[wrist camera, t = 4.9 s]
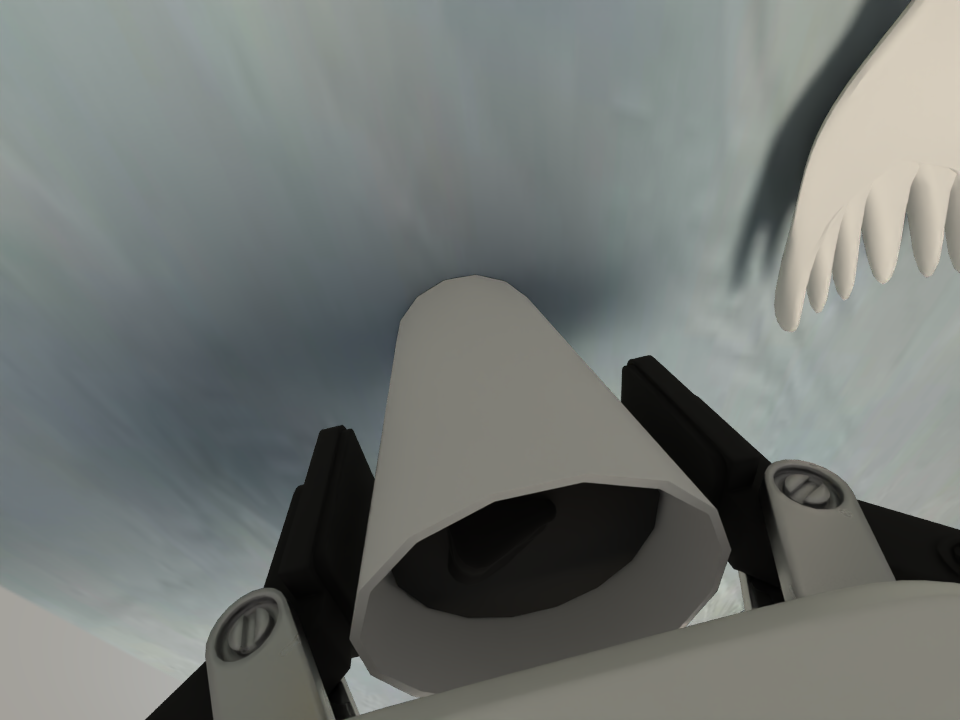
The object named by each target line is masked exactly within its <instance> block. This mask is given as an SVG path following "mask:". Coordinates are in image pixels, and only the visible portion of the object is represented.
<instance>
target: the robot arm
mask: <svg viewBox="0 0 960 720" xmlns="http://www.w3.org/2000/svg"><path fill="white" fill-rule="evenodd" d="M621 403H622V404H623V405H624V406H625V407H626V409H627V410H628V411H629V412H630V413H631V414H632V415H633V416H634V417H635V419H636V420H637V421H638V422H639V423H640V424H641V425H642V426H643V428H644V429H645V430H646V431H647V432H648V433H649V434H650V435H651V436H652V438H653V439H654V440H655V441H656V442H657V443H658V444H659V445H660V447H661V448H662V449H663V450H664V451H665V452H666V453H667V454H668V455H669V457H670V458H671V459H672V460H673V461H674V462H675V463H676V464H677V466H678V467H679V468H680V469H681V470H682V471H683V472H684V473H685V474H686V476H687V477H688V478H689V479H690V480H691V481H692V482H693V483H694V485H695V486H696V487H697V488H698V489H699V490H700V491H701V492H702V493H703V495H704V496H705V497H706V498H707V499H708V500H709V501H710V502H711V504H712V505H713V506H714V507H715V508H716V509H717V511H718V514H719V516H720V519H721V522H722V525H723V528H724V530H725V533H726V536H727V539H728V542H729V544H730V547H731V552H730V555H729V558H728V562H729V563H730V565H731V566H732V567H733V569H736V570H738V573H739V578H740V584H741V590H742V596H743V602H744V608H745V612H741V613H737V614H734V615H730V616H726V617H722V618H718V619H714V620H711V621H707V622H703V623H699V624H695V625H691V626H688V627H684V628H680V629H676V630H672V631H668V632H665V633H661V634H657V635H653V636H649V637H645V638H642V639H638V640H634V641H630V642H627V643H623V644H619V645H615V646H612V647H608V648H604V649H600V650H596V651H593V652H589V653H585V654H581V655H578V656H574V657H570V658H566V659H563V660H559V661H555V662H551V663H548V664H544V665H540V666H536V667H533V668H529V669H525V670H522V671H518V672H514V673H510V674H507V675H503V676H499V677H496V678H492V679H488V680H484V681H481V682H477V683H473V684H470V685H466V686H462V687H459V688H455V689H451V690H448V691H444V692H440V693H437V694H433V695H429V696H426V697H422V698H418V699H415V700H411V701H407V702H404V703H400V704H396V705H393V706H389V707H385V708H382V709H378V710H375V711H372V712H368V713H365V714H361V715H360V714H359V711H358V709H357V707H356V704H355V702H354V699H353V697H352V694H351V692H350V689H349V687H348V684H347V682H346V679H345V677H344V675H345V674H346V673H347V672H348V670H349V669H350V666H351V658H354V657H358V656H359V654H358V653H357V651H356V649H355V648H354V646H353V644H352V643H351V641H350V639H349V638H350V631H351V625H352V619H353V612H354V606H355V600H356V594H357V587H358V581H359V575H360V568H361V562H362V556H363V550H364V543H365V537H366V531H367V524H368V518H369V512H370V505H371V499H372V493H373V487H374V480H375V479H374V477H373V474H372V472H371V470H370V467H369V465H368V463H367V461H366V458H365V456H364V454H363V451H362V449H361V447H360V444H359V442H358V440H357V438H356V435H355V433H354V431H353V430H352V429H347V430H346V428H345V427H344V426H343V425H340V426H336V427H331V428H327V429H322V430H321V431H320V433H319V435H318V439H317V442H316V445H315V449H314V452H313V456H312V459H311V462H310V466H309V469H308V472H307V476H306V479H305V482H304V485H300V486H298V487H297V488H296V490H295V492H294V494H293V497H292V500H291V503H290V507H289V510H288V513H287V516H286V519H285V522H284V525H283V529H282V532H281V535H280V538H279V541H278V544H277V547H276V551H275V554H274V557H273V560H272V563H271V566H270V569H269V573H268V576H267V579H266V582H265V585H264V588H261V589H258V590H254V591H252V592H250V593H248V594H246V595H244V596H242V597H241V598H239V599H238V600H237V601H236V602H234V603H233V604H232V605H231V606H229V607H228V609H227V610H226V611H225V612H224V613H223V614H222V615H221V616H220V618H219V619H218V620H217V622H216V624H215V625H214V627H213V629H212V630H211V632H210V635H209V638H208V640H207V643H206V653H205V658H206V661H205V662H204V663H203V664H202V665H201V666H200V667H199V668H198V669H197V670H196V671H195V672H194V673H193V674H192V675H191V676H190V677H189V678H188V679H187V680H186V681H185V682H184V683H183V684H182V685H181V686H180V687H179V688H177V690H175V691H174V693H172V694H171V695H170V696H169V697H168V698H167V699H166V700H165V701H164V702H163V703H162V704H161V705H160V706H159V707H158V708H157V709H156V710H155V711H154V712H153V713H152V714H151V715H150V716H149V717H148V718H146V719H145V720H960V530H958V529H955V528H951V527H948V526H945V525H941V524H938V523H935V522H931V521H928V520H924V519H921V518H918V517H914V516H911V515H907V514H904V513H901V512H897V511H894V510H891V509H887V508H884V507H880V506H877V505H874V504H870V503H867V502H863V501H860V500H857V499H856V497H855V495H854V493H853V491H852V490H851V489H850V487H849V486H848V484H847V483H846V482H845V481H843V480H842V479H841V478H840V477H839V476H838V475H836V474H835V473H833V472H831V471H829V470H828V469H826V468H824V467H821V466H819V465H816V464H813V463H810V462H806V461H801V460H781V461H776V462H774V463H771V462H769V461H768V460H767V459H766V458H765V457H764V456H763V455H762V454H761V453H760V452H758V451H757V450H756V449H755V448H754V447H753V446H752V445H751V444H750V443H749V442H747V441H746V440H745V439H744V438H743V437H742V436H741V435H740V434H739V433H738V432H736V431H735V430H734V429H733V428H732V427H731V426H730V425H729V424H728V423H727V422H726V421H724V420H723V419H722V418H721V417H720V416H719V415H718V414H717V413H716V412H715V411H713V410H712V409H711V408H710V407H709V406H708V405H707V404H706V403H705V402H704V401H702V400H701V399H700V398H699V397H697V396H696V395H694V394H693V393H692V392H691V391H690V390H689V389H688V388H687V387H686V386H684V385H683V384H682V383H681V382H680V381H679V380H678V379H677V378H676V377H675V376H673V375H672V374H671V373H670V372H669V371H668V370H667V369H666V368H665V367H664V366H663V365H661V364H660V363H659V362H658V361H657V360H656V359H655V358H654V357H652V356H651V355H648V356H643V357H639V358H635V359H630V360H629V361H628V363H627V366H624V367H623V368H622V388H621Z"/></svg>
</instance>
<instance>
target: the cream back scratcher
mask: <svg viewBox="0 0 960 720" xmlns="http://www.w3.org/2000/svg"><path fill="white" fill-rule="evenodd" d="M906 210H907V216H908V222H909V229H910V236H911V242H912V248H913V254H914V257H915V260H916V263H917V266H918V269H919V271H920V272H921V273H922V274H923V275H924V276H925V277H926V278H927V277H929V276H931V275H932V274H933V273H934V271H935V269H936V267H937V264H938V262H939V260H940V255H941V249H942V244H943V237H944V228H945V234H946V241H947V248H948V254H949V256H950V259H951V262H952V264H953V267H954V269H955V270H957V271H958V272H959V273H960V0H912V1H911V2H910V3H909V4H908V6H907V7H906V8H905V10H904V11H903V12H902V13H901V15H900V16H899V17H898V19H897V20H896V21H895V22H894V24H893V25H892V26H891V27H890V29H889V30H888V31H887V32H886V34H885V35H884V36H883V37H882V39H881V40H880V41H879V42H878V44H877V45H876V46H875V48H874V49H873V50H872V51H871V53H870V54H869V55H868V57H867V58H866V59H865V60H864V62H863V63H862V64H861V66H860V67H859V68H858V70H857V71H856V72H855V74H854V75H853V76H852V78H851V79H850V80H849V82H848V83H847V85H846V86H845V87H844V89H843V90H842V92H841V93H840V95H839V96H838V98H837V99H836V101H835V102H834V104H833V106H832V107H831V109H830V111H829V113H828V114H827V116H826V118H825V120H824V122H823V124H822V126H821V128H820V130H819V132H818V134H817V136H816V138H815V141H814V143H813V146H812V148H811V151H810V154H809V157H808V160H807V163H806V166H805V170H804V174H803V178H802V181H801V185H800V190H799V194H798V198H797V202H796V207H795V211H794V215H793V219H792V223H791V227H790V231H789V235H788V238H787V242H786V246H785V249H784V253H783V257H782V261H781V266H780V270H779V275H778V280H777V285H776V290H775V301H774V307H775V315H776V318H777V322H778V323H779V325H780V327H781V328H782V329H783V330H784V331H787V332H794V331H796V329H797V327H798V324H799V321H800V317H801V313H802V308H803V303H804V298H805V292H806V288H807V294H808V298H809V301H810V305H811V307H812V308H813V309H814V311H815V312H816V313H819V312H822V310H823V307H824V305H825V303H826V300H827V297H828V291H829V285H830V280H831V273H833V280H834V283H835V286H836V290H837V292H838V294H839V295H840V297H841V298H842V299H843V300H846V299H848V298H849V296H850V293H851V291H852V288H853V285H854V282H855V275H856V268H857V261H858V252H859V243H860V234H861V230H862V236H863V241H864V245H865V250H866V254H867V258H868V261H869V265H870V268H871V270H872V273H873V276H874V277H875V278H876V279H877V280H878V281H879V282H880V283H882V284H884V283H886V282H888V281H889V279H890V278H891V277H892V275H893V272H894V269H895V267H896V264H897V259H898V254H899V248H900V243H901V238H902V232H903V225H904V219H905V213H906Z"/></svg>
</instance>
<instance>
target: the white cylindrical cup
mask: <svg viewBox="0 0 960 720" xmlns="http://www.w3.org/2000/svg"><path fill="white" fill-rule="evenodd" d="M730 552H731V547H730V544H729V542H728V539H727V536H726V533H725V530H724V528H723V525H722V522H721V519H720V516H719V514H718V511H717V509H716V508H715V507H714V506H713V505H712V504H711V502H710V501H709V500H708V499H707V498H706V497H705V496H704V495H703V493H702V492H701V491H700V490H699V489H698V488H697V487H696V486H695V485H694V483H693V482H692V481H691V480H690V479H689V478H688V477H687V476H686V474H685V473H684V472H683V471H682V470H681V469H680V468H679V467H678V466H677V464H676V463H675V462H674V461H673V460H672V459H671V458H670V457H669V455H668V454H667V453H666V452H665V451H664V450H663V449H662V448H661V447H660V445H659V444H658V443H657V442H656V441H655V440H654V439H653V438H652V436H651V435H650V434H649V433H648V432H647V431H646V430H645V429H644V428H643V426H642V425H641V424H640V423H639V422H638V421H637V420H636V419H635V417H634V416H633V415H632V414H631V413H630V412H629V411H628V410H627V409H626V407H625V406H624V405H623V404H622V403H621V402H620V401H619V400H618V398H617V397H616V396H615V395H614V394H613V393H612V392H611V391H610V389H609V388H608V387H607V386H606V385H605V384H604V383H603V382H602V381H601V379H600V378H599V377H598V376H597V375H596V374H595V373H594V372H593V370H592V369H591V368H590V367H589V366H588V365H587V364H586V363H585V362H584V360H583V359H582V358H581V357H580V356H579V355H578V354H577V353H576V351H575V350H574V349H573V348H572V347H571V346H570V345H569V344H568V343H567V341H566V340H565V339H564V338H563V337H562V336H561V335H560V334H559V332H558V331H557V330H556V329H555V328H554V327H553V326H552V325H551V324H550V322H549V321H548V320H547V319H546V318H545V317H544V316H543V315H542V313H541V312H540V311H539V310H538V309H537V308H536V307H535V306H534V305H533V303H532V302H531V301H530V300H529V299H528V298H527V297H526V296H524V295H523V294H522V293H520V292H519V291H518V290H516V289H515V288H514V287H512V286H511V285H510V284H508V283H507V282H505V281H501V280H497V279H492V278H488V277H483V276H479V275H472V276H466V277H460V278H454V279H449V280H444V281H442V282H441V283H439V284H437V285H436V286H434V287H433V288H431V289H429V290H428V291H426V292H424V293H423V294H421V295H420V296H418V297H417V298H416V300H415V301H414V303H413V304H412V305H411V307H410V308H409V310H408V311H407V312H406V314H405V315H404V317H403V318H402V319H401V321H400V326H399V331H398V336H397V342H396V347H395V354H394V361H393V367H392V373H391V380H390V386H389V392H388V398H387V405H386V411H385V417H384V424H383V430H382V436H381V442H380V449H379V455H378V461H377V468H376V474H375V480H374V487H373V493H372V499H371V505H370V512H369V518H368V524H367V531H366V537H365V543H364V550H363V556H362V562H361V568H360V575H359V581H358V587H357V594H356V600H355V606H354V612H353V619H352V625H351V631H350V638H349V639H350V641H351V643H352V644H353V646H354V648H355V649H356V651H357V653H358V654H359V656H360V658H361V660H362V661H363V663H364V665H365V666H366V668H367V670H368V671H369V673H370V675H372V676H374V677H376V678H378V679H380V680H382V681H384V682H386V683H388V684H390V685H392V686H394V687H396V688H398V689H400V690H402V691H404V692H406V693H408V694H410V695H411V696H415V697H426V696H429V695H433V694H437V693H440V692H444V691H448V690H451V689H455V688H459V687H462V686H466V685H470V684H473V683H477V682H481V681H484V680H488V679H492V678H496V677H499V676H503V675H507V674H510V673H514V672H518V671H522V670H525V669H529V668H533V667H536V666H540V665H544V664H548V663H551V662H555V661H559V660H563V659H566V658H570V657H574V656H578V655H581V654H585V653H589V652H593V651H596V650H600V649H604V648H608V647H612V646H615V645H619V644H623V643H627V642H630V641H634V640H638V639H642V638H645V637H649V636H653V635H657V634H661V633H665V632H668V631H672V630H676V629H680V628H684V627H686V626H687V625H688V624H689V622H690V621H691V620H692V619H693V618H694V617H695V616H696V615H697V613H698V612H699V611H700V610H701V609H702V608H703V607H704V606H705V605H706V603H707V602H708V601H709V600H710V599H711V598H712V597H713V596H714V594H715V593H716V592H717V591H718V588H719V585H720V582H721V579H722V576H723V573H724V570H725V567H726V564H727V561H728V558H729V555H730Z"/></svg>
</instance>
